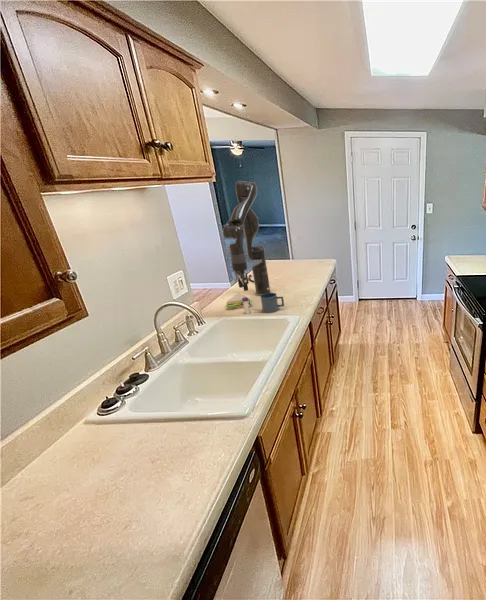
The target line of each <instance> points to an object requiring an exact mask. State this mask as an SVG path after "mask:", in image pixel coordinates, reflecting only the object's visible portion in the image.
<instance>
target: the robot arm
mask: <svg viewBox="0 0 486 600" xmlns="http://www.w3.org/2000/svg"><path fill="white" fill-rule="evenodd" d="M234 189H235V194H236V198H237V203H238V204H237V205H236V206H235V207H234V209H233V210H232V213H231V216H230V218H229V219H228V220H227V221H226V223H225V224H224V226H223V228H222V235H223V237H224V238H226V239H229V240H232V239H234V240H235V242H231V243H229V245H228V249H229V252H230V261H231V267H232V270H233V271H234V274H235V279H236V282H238V283H237V284H238V287H239V288H240V289H241V288H243V291H244V292H247V291H249V286H248V285H249V283H250V282H252V283H253V284H254V289H255V294H256V296H261V295H263V294H266V293H272V292H271V286H270V280H269V272H268V266H267V258H266V249H265V247H264V246H263V245H253V242H254V239H255V237H256V236H257V234H258V232H259V229H260V224H259V217H258V216H257V214H256V213H255V212H254V210H253V209H252V208H251V207H252V205H253V204H254V202H255V200H256V198H257V196H258V186H257V183H255V182H253V181H244V180H237V181H236V182H235V188H234ZM244 239H245V245H246V247H245V248H246V254H247V255H245V248H244ZM246 257H247V258H248V260H249V261H259V262H257V263H255V264H253V265H252V266H251V271H252V274H249V276H248V273H247V272H245V271H247V270H248V263H247V258H246ZM252 276H253V280H252V279H251V277H252ZM249 281H250V282H249Z"/></svg>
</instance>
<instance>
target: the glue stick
mask: <svg viewBox="0 0 486 600" xmlns="http://www.w3.org/2000/svg"><path fill="white" fill-rule="evenodd" d="M248 298H249V296H246V297H243V298H242V300H243V305H244V307H243V309H244V314H247V315H248V314H250V313H251V310H250V307H249V303H248Z"/></svg>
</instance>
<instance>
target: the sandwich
mask: <svg viewBox="0 0 486 600" xmlns="http://www.w3.org/2000/svg"><path fill="white" fill-rule="evenodd" d="M243 297H247V296H246V295H245V294H242V293H241V292H240V291H239V292H236V294H234V295H233V296H231V298H230V299H228V300H227V301H226V305H225V306H224V308H227V310H234V309H241V308H244V305H243V300H242V298H243ZM248 303H249V308H251V307H252V304H251V303H253V300H251V298H249V297H248Z"/></svg>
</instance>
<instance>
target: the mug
mask: <svg viewBox="0 0 486 600" xmlns="http://www.w3.org/2000/svg"><path fill="white" fill-rule="evenodd" d="M259 297H260V302H261V303H260V304H261V310H262V312H263V313H266V314H271V313H276V312H278V311H279V310H280V309H279V308H282V307H285V302H284V301H285V300H284V296H278V294H277V293H276V292H271V293H266V294H263V295H259ZM280 299H281V300H280ZM278 300H280V301H281V304H279V301H278Z"/></svg>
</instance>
